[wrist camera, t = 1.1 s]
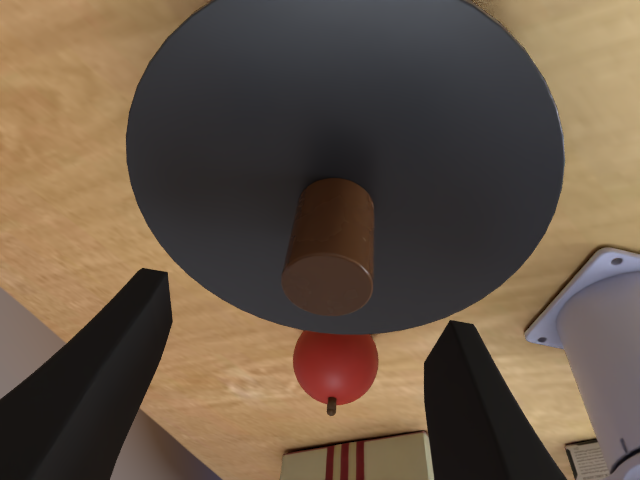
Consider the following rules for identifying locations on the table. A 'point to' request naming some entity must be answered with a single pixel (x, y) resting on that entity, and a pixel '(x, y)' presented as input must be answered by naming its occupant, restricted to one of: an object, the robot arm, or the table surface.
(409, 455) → the gift box
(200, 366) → the table surface
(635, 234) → the table surface
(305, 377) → the apple
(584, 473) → the candy bar box
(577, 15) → the table surface
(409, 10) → the lid
